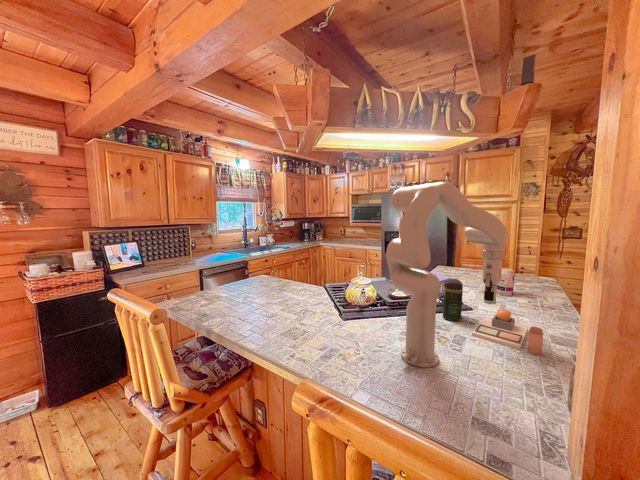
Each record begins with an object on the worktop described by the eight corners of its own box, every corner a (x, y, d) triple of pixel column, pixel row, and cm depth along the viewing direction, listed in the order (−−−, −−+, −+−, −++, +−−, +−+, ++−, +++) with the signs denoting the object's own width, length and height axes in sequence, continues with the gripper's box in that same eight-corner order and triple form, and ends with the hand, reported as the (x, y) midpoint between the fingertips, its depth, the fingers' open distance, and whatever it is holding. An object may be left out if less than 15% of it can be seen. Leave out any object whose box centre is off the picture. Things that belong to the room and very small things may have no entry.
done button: (509, 323, 110) (509, 314, 109) (495, 320, 113) (496, 311, 113) (511, 320, 113) (511, 311, 113) (498, 317, 117) (498, 308, 116)
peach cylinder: (540, 356, 92) (543, 332, 91) (526, 352, 95) (528, 329, 94) (542, 352, 95) (544, 328, 94) (528, 348, 98) (530, 325, 97)
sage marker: (494, 305, 105) (496, 283, 104) (483, 302, 108) (484, 281, 106) (496, 302, 108) (498, 281, 106) (485, 300, 110) (486, 279, 109)
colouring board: (520, 349, 97) (521, 338, 97) (471, 335, 108) (472, 325, 108) (527, 330, 111) (528, 320, 111) (484, 319, 122) (484, 310, 122)
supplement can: (512, 293, 158) (514, 268, 156) (513, 297, 151) (515, 272, 149) (496, 291, 162) (497, 267, 160) (496, 295, 155) (498, 270, 153)
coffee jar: (462, 322, 120) (464, 283, 118) (443, 320, 123) (444, 281, 121) (460, 314, 129) (461, 277, 126) (442, 312, 132) (443, 276, 129)
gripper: (499, 259, 97) (496, 307, 99) (508, 252, 108) (505, 295, 111) (476, 256, 102) (474, 302, 104) (487, 250, 114) (484, 291, 116)
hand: (490, 298), depth 107 cm, fingers closed on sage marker, 4 cm apart
